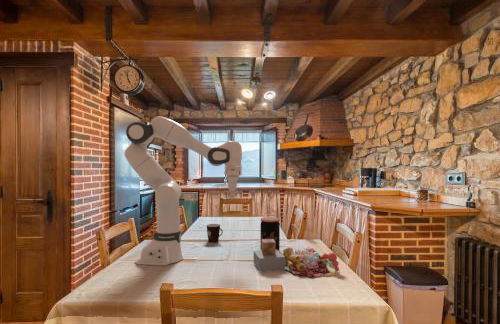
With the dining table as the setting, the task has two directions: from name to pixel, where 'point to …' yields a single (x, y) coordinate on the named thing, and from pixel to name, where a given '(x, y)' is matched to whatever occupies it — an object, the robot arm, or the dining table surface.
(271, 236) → the coffee jar
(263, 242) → the walnut block
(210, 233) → the coffee mug
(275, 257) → the grey box
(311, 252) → the candy landscape model
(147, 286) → the dining table surface
